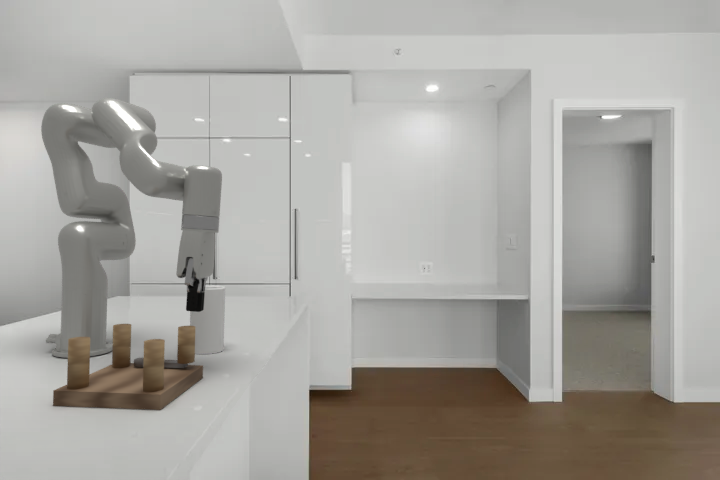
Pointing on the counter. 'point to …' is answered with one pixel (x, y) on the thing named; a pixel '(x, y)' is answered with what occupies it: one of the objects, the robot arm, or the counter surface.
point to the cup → (210, 322)
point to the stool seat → (123, 376)
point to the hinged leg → (179, 349)
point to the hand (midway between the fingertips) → (194, 310)
